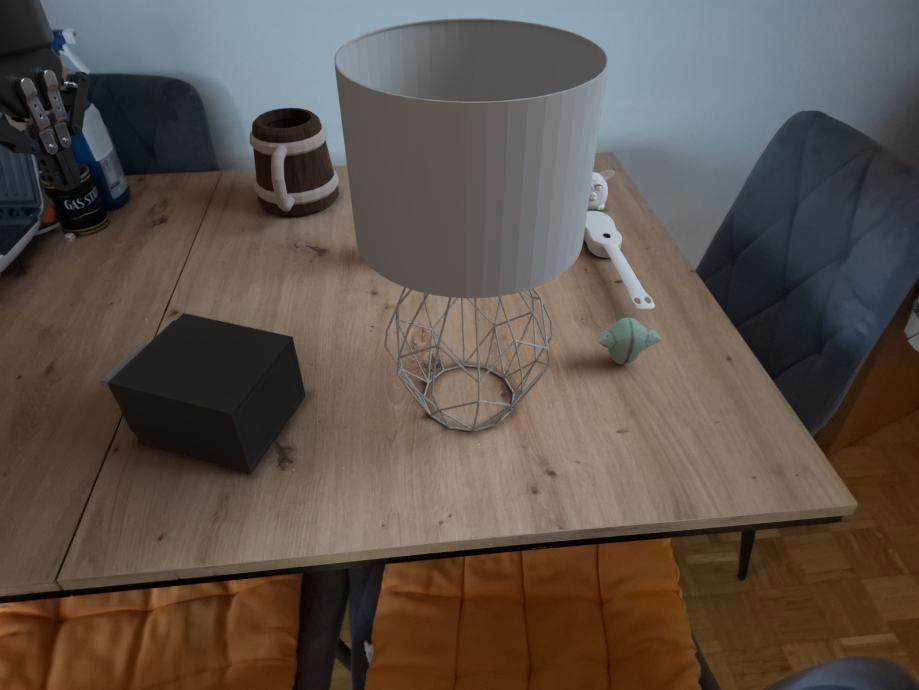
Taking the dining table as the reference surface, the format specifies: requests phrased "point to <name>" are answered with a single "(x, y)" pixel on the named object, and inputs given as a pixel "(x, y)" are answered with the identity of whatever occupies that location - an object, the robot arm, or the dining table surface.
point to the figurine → (599, 189)
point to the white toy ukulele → (613, 254)
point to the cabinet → (212, 391)
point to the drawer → (123, 364)
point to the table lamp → (470, 166)
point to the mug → (292, 163)
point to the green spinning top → (627, 340)
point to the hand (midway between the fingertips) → (67, 187)
